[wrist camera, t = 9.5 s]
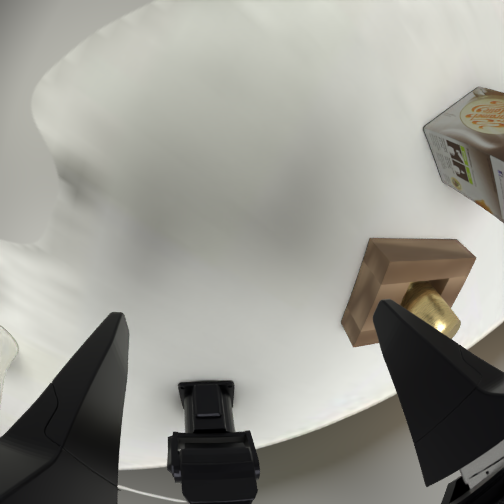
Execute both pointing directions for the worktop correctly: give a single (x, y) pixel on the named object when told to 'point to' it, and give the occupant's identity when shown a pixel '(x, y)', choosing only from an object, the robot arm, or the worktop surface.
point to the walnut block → (402, 278)
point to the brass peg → (430, 307)
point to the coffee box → (472, 148)
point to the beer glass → (6, 355)
